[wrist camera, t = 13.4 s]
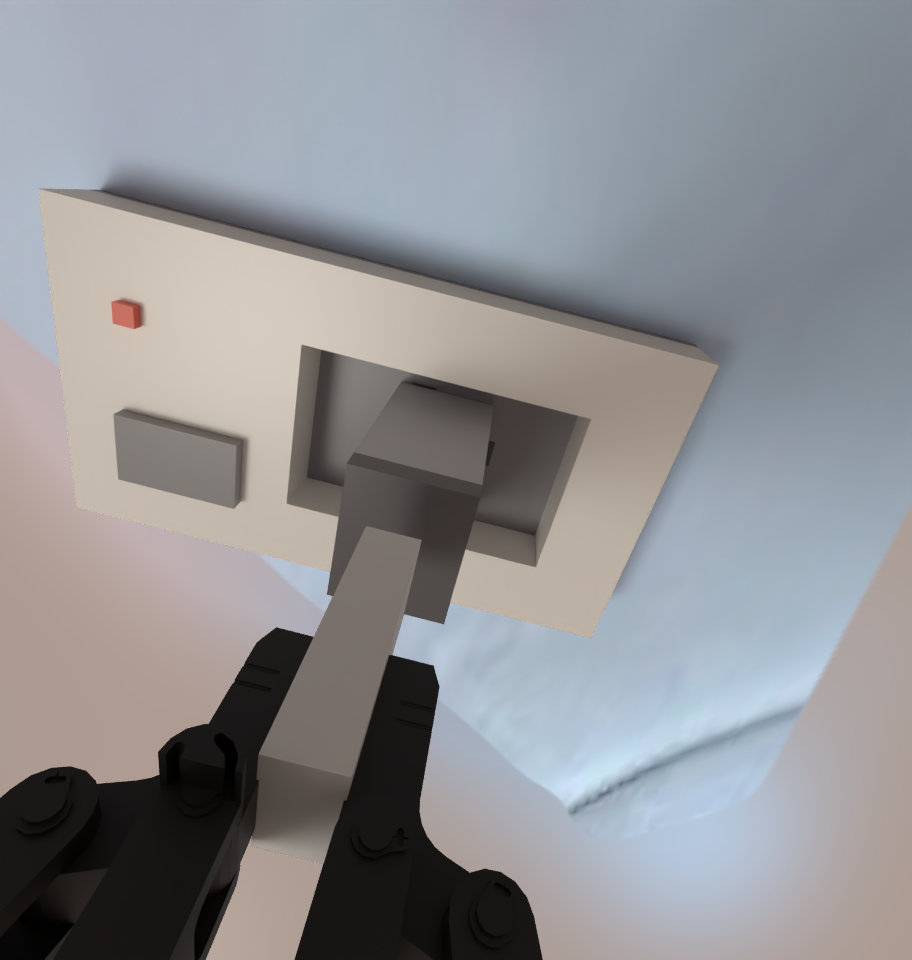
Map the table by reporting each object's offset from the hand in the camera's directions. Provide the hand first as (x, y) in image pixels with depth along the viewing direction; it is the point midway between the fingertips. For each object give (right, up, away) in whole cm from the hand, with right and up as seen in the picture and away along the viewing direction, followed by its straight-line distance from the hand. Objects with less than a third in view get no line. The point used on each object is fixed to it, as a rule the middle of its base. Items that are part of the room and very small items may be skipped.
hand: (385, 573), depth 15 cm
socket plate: (-2, +5, +10) cm, 11 cm away
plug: (+1, +4, +9) cm, 10 cm away
